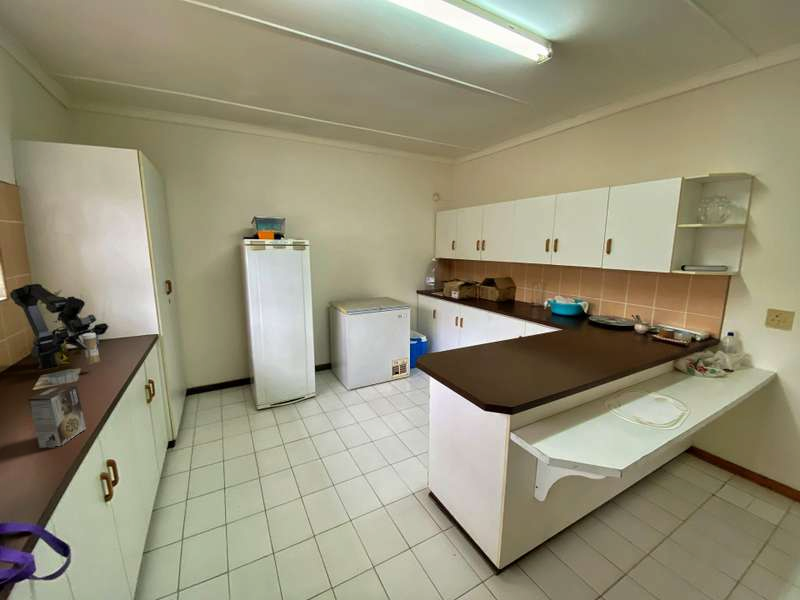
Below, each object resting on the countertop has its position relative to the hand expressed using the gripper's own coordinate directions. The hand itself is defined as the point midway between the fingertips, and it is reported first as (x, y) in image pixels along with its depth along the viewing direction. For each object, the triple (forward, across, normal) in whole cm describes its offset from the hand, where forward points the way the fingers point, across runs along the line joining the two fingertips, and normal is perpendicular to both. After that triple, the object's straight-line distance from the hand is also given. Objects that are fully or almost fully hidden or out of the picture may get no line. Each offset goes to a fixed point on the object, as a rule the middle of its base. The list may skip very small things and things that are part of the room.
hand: (92, 347), depth 147 cm
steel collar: (+5, -9, +12) cm, 16 cm away
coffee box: (+42, -36, -23) cm, 59 cm away
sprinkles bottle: (+4, 0, +6) cm, 7 cm away
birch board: (+2, -9, +16) cm, 19 cm away
